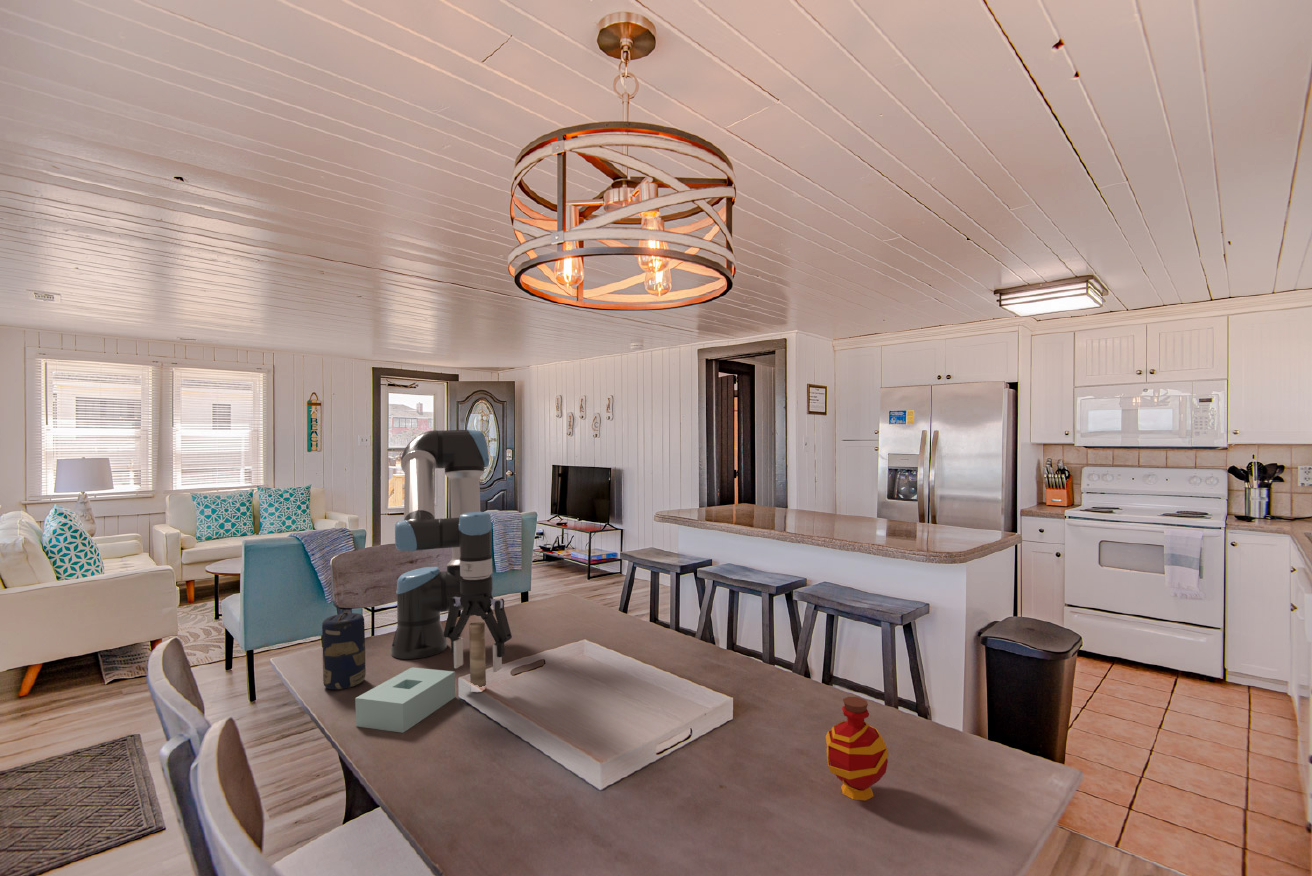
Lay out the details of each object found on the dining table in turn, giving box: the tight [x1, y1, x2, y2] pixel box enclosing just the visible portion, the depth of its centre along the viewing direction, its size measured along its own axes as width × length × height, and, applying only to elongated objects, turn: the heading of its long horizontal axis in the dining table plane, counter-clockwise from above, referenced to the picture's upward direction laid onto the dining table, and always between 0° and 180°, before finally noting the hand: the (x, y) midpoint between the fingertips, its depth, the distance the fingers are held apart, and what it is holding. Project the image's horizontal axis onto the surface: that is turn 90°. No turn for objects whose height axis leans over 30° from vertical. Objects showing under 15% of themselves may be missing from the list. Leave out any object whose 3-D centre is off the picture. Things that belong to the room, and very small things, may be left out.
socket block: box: [354, 667, 456, 734], centre depth 135 cm, size 18×12×6 cm, turn 164°
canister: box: [321, 611, 367, 690], centre depth 151 cm, size 10×10×18 cm
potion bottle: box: [825, 696, 889, 801], centre depth 101 cm, size 10×10×15 cm
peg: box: [468, 621, 487, 687], centre depth 146 cm, size 4×4×16 cm
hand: (477, 668), depth 146 cm, fingers open, 10 cm apart
